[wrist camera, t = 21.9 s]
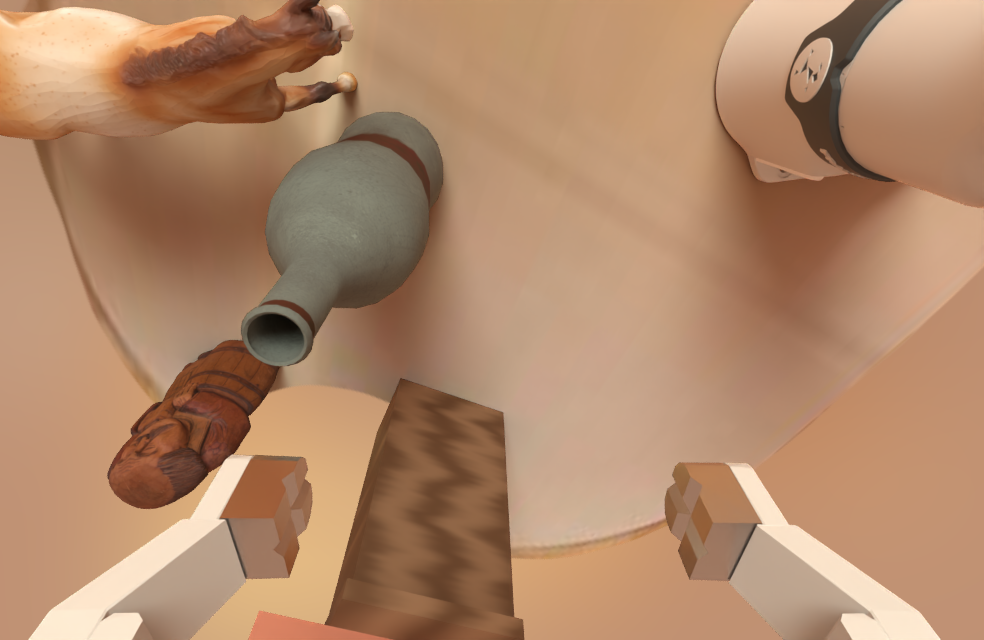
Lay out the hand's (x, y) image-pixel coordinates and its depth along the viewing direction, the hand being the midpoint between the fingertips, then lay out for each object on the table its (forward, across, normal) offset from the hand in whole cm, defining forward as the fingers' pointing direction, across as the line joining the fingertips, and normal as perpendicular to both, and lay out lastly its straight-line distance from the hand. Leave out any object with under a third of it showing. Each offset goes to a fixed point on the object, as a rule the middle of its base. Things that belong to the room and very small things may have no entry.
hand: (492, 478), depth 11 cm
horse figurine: (+39, +22, -8) cm, 45 cm away
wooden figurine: (+39, +27, +25) cm, 54 cm away
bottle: (+38, +8, +2) cm, 39 cm away
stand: (+38, +4, +33) cm, 51 cm away
